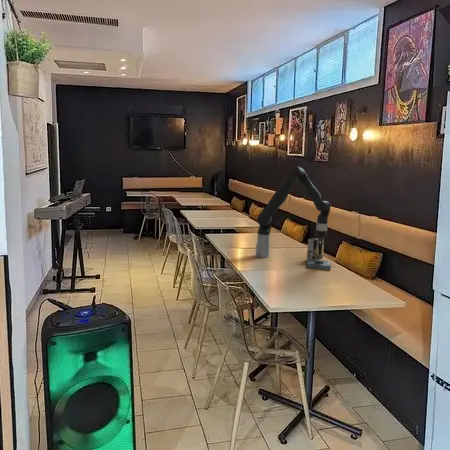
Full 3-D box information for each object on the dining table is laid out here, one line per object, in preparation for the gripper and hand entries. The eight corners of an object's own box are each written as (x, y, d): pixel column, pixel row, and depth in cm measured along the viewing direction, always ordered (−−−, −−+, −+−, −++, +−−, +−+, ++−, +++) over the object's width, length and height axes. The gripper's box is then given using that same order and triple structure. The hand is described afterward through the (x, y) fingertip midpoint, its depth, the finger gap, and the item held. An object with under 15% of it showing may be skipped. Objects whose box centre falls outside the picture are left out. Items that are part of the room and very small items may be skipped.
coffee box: (313, 261, 338) (314, 240, 335) (306, 259, 343) (307, 238, 340) (321, 260, 344) (322, 239, 341) (314, 258, 348) (315, 237, 346)
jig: (306, 267, 318) (306, 262, 317) (308, 262, 333) (308, 257, 333) (330, 270, 314) (330, 265, 313) (330, 265, 329) (331, 260, 329)
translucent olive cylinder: (316, 258, 321) (317, 245, 320) (316, 257, 325) (317, 244, 324) (322, 258, 320) (323, 246, 319) (323, 257, 324) (323, 245, 323)
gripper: (316, 227, 327) (315, 251, 330) (315, 230, 314) (313, 255, 316) (327, 228, 325) (325, 252, 328) (326, 231, 312) (324, 256, 314)
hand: (319, 253), depth 322 cm, fingers closed on translucent olive cylinder, 4 cm apart
